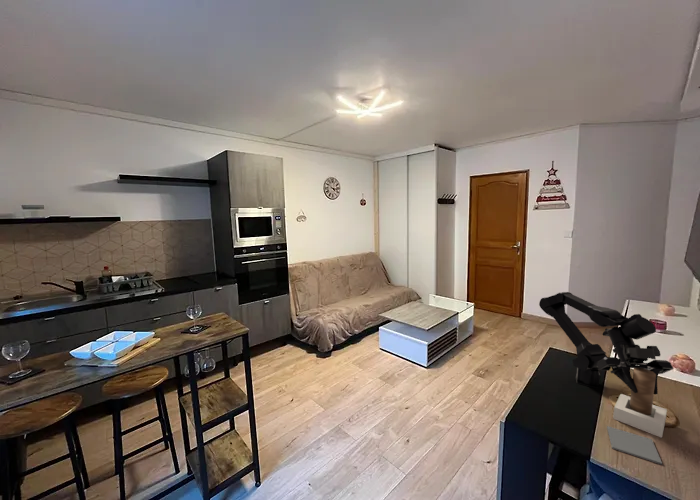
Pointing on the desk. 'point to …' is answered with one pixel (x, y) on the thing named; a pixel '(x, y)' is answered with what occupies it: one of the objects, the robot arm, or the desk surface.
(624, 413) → the frame
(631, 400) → the peg
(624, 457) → the desk surface
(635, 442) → the pad
